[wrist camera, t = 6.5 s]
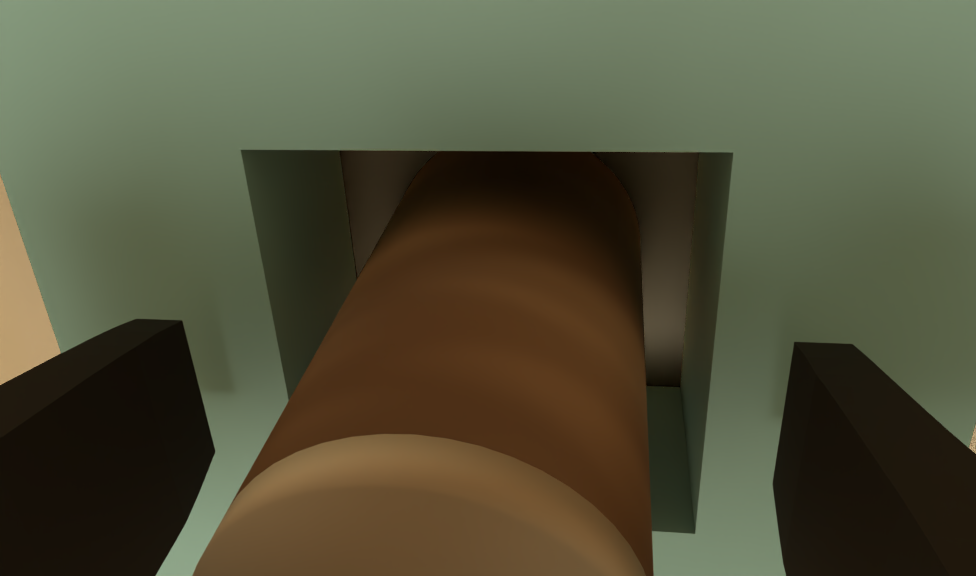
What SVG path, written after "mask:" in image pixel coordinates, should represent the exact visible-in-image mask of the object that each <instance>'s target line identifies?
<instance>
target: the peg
mask: <svg viewBox="0 0 976 576" xmlns="http://www.w3.org/2000/svg"><path fill="white" fill-rule="evenodd" d="M192 576H654V571H653V545H652V520H651V495H650V470H649V445H648V420H647V395H646V370H645V345H644V320H643V295H642V270H641V245H640V232H639V225H638V220H637V216H636V213H635V210H634V206H633V204H632V202H631V200H630V198H629V196H628V194H627V192H626V190H625V189H624V187H623V186H622V184H621V183H620V181H619V179H618V178H617V177H616V176H615V175H614V174H613V172H612V171H611V170H610V169H609V168H608V167H607V166H606V165H605V164H604V163H603V162H602V161H600V160H599V159H598V158H597V157H596V156H595V155H593V154H592V153H590V152H565V151H439V152H438V153H437V154H436V155H435V156H434V157H432V158H431V159H430V160H429V161H428V162H427V163H426V164H425V165H424V166H423V167H422V169H421V170H420V171H419V172H418V173H417V175H416V176H415V178H414V179H413V181H412V183H411V184H410V186H409V188H408V189H407V191H406V193H405V195H404V196H403V198H402V200H401V202H400V204H399V205H398V207H397V209H396V211H395V212H394V214H393V216H392V218H391V220H390V221H389V223H388V225H387V227H386V228H385V230H384V232H383V234H382V236H381V237H380V239H379V241H378V243H377V245H376V246H375V248H374V250H373V252H372V253H371V255H370V257H369V259H368V261H367V262H366V264H365V266H364V268H363V269H362V271H361V273H360V275H359V277H358V278H357V280H356V282H355V284H354V286H353V287H352V289H351V291H350V293H349V294H348V296H347V298H346V300H345V302H344V303H343V305H342V307H341V309H340V310H339V312H338V314H337V316H336V318H335V319H334V321H333V323H332V325H331V326H330V328H329V330H328V332H327V334H326V335H325V337H324V339H323V341H322V343H321V344H320V346H319V348H318V350H317V351H316V353H315V355H314V357H313V359H312V360H311V362H310V364H309V366H308V367H307V369H306V371H305V373H304V375H303V376H302V378H301V380H300V382H299V384H298V385H297V387H296V389H295V391H294V392H293V394H292V396H291V398H290V400H289V401H288V403H287V405H286V407H285V408H284V410H283V412H282V414H281V416H280V417H279V419H278V421H277V423H276V424H275V426H274V428H273V430H272V432H271V433H270V435H269V437H268V439H267V441H266V442H265V444H264V446H263V448H262V449H261V451H260V453H259V455H258V457H257V458H256V460H255V462H254V464H253V465H252V467H251V469H250V471H249V473H248V474H247V476H246V478H245V480H244V482H243V483H242V485H241V487H240V489H239V490H238V492H237V494H236V496H235V498H234V499H233V501H232V503H231V505H230V506H229V508H228V510H227V512H226V514H225V515H224V517H223V519H222V521H221V522H220V524H219V526H218V528H217V530H216V531H215V533H214V535H213V537H212V539H211V540H210V542H209V544H208V546H207V547H206V549H205V551H204V553H203V555H202V556H201V558H200V560H199V562H198V563H197V566H196V568H195V570H194V573H193V575H192Z"/></svg>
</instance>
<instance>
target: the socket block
mask: <svg viewBox="0 0 976 576" xmlns="http://www.w3.org/2000/svg"><path fill="white" fill-rule="evenodd" d="M340 150H390V151H565V152H699V159H698V172H697V184H696V197H695V209H694V222H693V234H692V247H691V259H690V272H689V284H688V297H687V309H686V322H685V334H684V347H683V359H682V372H681V384H680V387H664V386H646V395H647V420H648V445H649V470H650V495H651V520H652V545H653V571H654V576H786V573H785V569H784V565H783V559H782V552H781V545H780V538H779V531H778V524H777V516H776V508H775V500H774V492H773V484H772V483H773V477H774V470H775V464H776V457H777V451H778V444H779V438H780V431H781V425H782V418H783V412H784V405H785V399H786V392H787V386H788V379H789V373H790V366H791V360H792V353H793V347H794V342H815V343H844V344H853V345H854V346H855V347H857V348H858V349H859V350H860V351H861V352H863V353H864V354H865V355H866V356H867V357H868V358H869V359H870V360H872V361H873V362H874V363H875V364H876V365H877V366H878V367H879V368H880V369H881V370H882V371H884V372H885V373H886V374H887V375H888V376H889V377H890V378H891V379H892V380H893V381H894V382H896V383H897V384H898V385H899V386H900V387H901V388H902V389H903V390H904V391H905V392H906V393H907V394H909V395H910V396H911V397H912V398H913V399H914V400H915V401H916V402H917V403H918V404H920V405H921V406H922V407H923V408H924V409H925V410H926V411H927V412H928V413H929V414H931V415H932V416H933V417H934V418H935V419H936V420H937V421H938V422H940V423H941V424H942V425H943V426H944V427H945V428H946V429H947V430H949V431H950V432H951V433H952V434H953V435H954V436H955V437H957V438H958V439H959V440H960V441H961V442H962V443H963V444H965V445H966V446H967V447H968V448H969V445H970V442H971V438H972V435H973V431H974V428H975V424H976V0H0V174H1V177H2V180H3V183H4V186H5V189H6V192H7V195H8V198H9V201H10V204H11V207H12V210H13V213H14V216H15V219H16V221H17V224H18V227H19V230H20V233H21V236H22V239H23V242H24V245H25V248H26V251H27V254H28V257H29V260H30V263H31V266H32V269H33V272H34V275H35V277H36V280H37V283H38V286H39V289H40V292H41V295H42V298H43V301H44V304H45V307H46V310H47V313H48V316H49V319H50V322H51V325H52V328H53V330H54V333H55V336H56V339H57V342H58V345H59V348H60V351H61V353H63V352H65V351H67V350H69V349H71V348H73V347H75V346H77V345H79V344H81V343H83V342H85V341H87V340H89V339H91V338H93V337H95V336H97V335H99V334H101V333H103V332H105V331H108V330H110V329H112V328H114V327H117V326H119V325H121V324H124V323H126V322H129V321H132V320H134V319H160V320H182V321H183V325H184V329H185V333H186V337H187V341H188V345H189V349H190V353H191V357H192V361H193V365H194V368H195V372H196V376H197V380H198V384H199V388H200V392H201V396H202V400H203V404H204V408H205V412H206V416H207V420H208V424H209V428H210V432H211V436H212V440H213V444H214V448H215V454H214V457H213V459H212V462H211V464H210V467H209V470H208V472H207V475H206V477H205V480H204V482H203V485H202V487H201V490H200V492H199V495H198V497H197V499H196V501H195V504H194V506H193V508H192V511H191V513H190V515H189V517H188V520H187V522H186V524H185V526H184V527H183V529H182V531H181V533H180V535H179V536H178V538H177V540H176V542H175V543H174V545H173V547H172V548H171V550H170V552H169V554H168V555H167V557H166V559H165V560H164V562H163V564H162V566H161V567H160V569H159V571H158V572H157V574H156V576H192V575H193V573H194V570H195V568H196V566H197V563H198V562H199V560H200V558H201V556H202V555H203V553H204V551H205V549H206V547H207V546H208V544H209V542H210V540H211V539H212V537H213V535H214V533H215V531H216V530H217V528H218V526H219V524H220V522H221V521H222V519H223V517H224V515H225V514H226V512H227V510H228V508H229V506H230V505H231V503H232V501H233V499H234V498H235V496H236V494H237V492H238V490H239V489H240V487H241V485H242V483H243V482H244V480H245V478H246V476H247V474H248V473H249V471H250V469H251V467H252V465H253V464H254V462H255V460H256V458H257V457H258V455H259V453H260V451H261V449H262V448H263V446H264V444H265V442H266V441H267V439H268V437H269V435H270V433H271V432H272V430H273V428H274V426H275V424H276V423H277V421H278V419H279V417H280V416H281V414H282V412H283V410H284V408H285V407H286V405H287V403H288V401H289V400H290V398H291V396H292V394H293V392H294V391H295V389H296V387H297V385H298V384H299V382H300V380H301V378H302V376H303V375H304V373H305V371H306V369H307V367H308V366H309V364H310V362H311V360H312V359H313V357H314V355H315V353H316V351H317V350H318V348H319V346H320V344H321V343H322V341H323V339H324V337H325V335H326V334H327V332H328V330H329V328H330V326H331V325H332V323H333V321H334V319H335V318H336V316H337V314H338V312H339V310H340V309H341V307H342V305H343V303H344V302H345V300H346V298H347V296H348V294H349V293H350V291H351V289H352V287H353V286H354V284H355V282H356V280H357V278H356V270H355V263H354V255H353V248H352V240H351V233H350V225H349V218H348V210H347V203H346V195H345V188H344V180H343V173H342V165H341V158H340Z"/></svg>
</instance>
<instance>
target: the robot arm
mask: <svg viewBox="0 0 976 576" xmlns="http://www.w3.org/2000/svg"><path fill="white" fill-rule="evenodd" d="M214 454H215V448H214V444H213V440H212V436H211V432H210V428H209V424H208V420H207V416H206V412H205V408H204V404H203V400H202V396H201V392H200V388H199V384H198V380H197V376H196V372H195V368H194V365H193V361H192V357H191V353H190V349H189V345H188V341H187V337H186V333H185V329H184V325H183V321H182V320H160V319H134V320H132V321H129V322H126V323H124V324H121V325H119V326H117V327H114V328H112V329H110V330H108V331H105V332H103V333H101V334H99V335H97V336H95V337H93V338H91V339H89V340H87V341H85V342H83V343H81V344H79V345H77V346H75V347H73V348H71V349H69V350H67V351H65V352H63V353H61V354H59V355H57V356H55V357H54V358H52V359H50V360H48V361H46V362H44V363H42V364H40V365H38V366H36V367H34V368H32V369H31V370H29V371H27V372H25V373H23V374H21V375H19V376H17V377H15V378H13V379H11V380H9V381H8V382H6V383H4V384H2V385H0V576H156V574H157V572H158V571H159V569H160V567H161V566H162V564H163V562H164V560H165V559H166V557H167V555H168V554H169V552H170V550H171V548H172V547H173V545H174V543H175V542H176V540H177V538H178V536H179V535H180V533H181V531H182V529H183V527H184V526H185V524H186V522H187V520H188V517H189V515H190V513H191V511H192V508H193V506H194V504H195V501H196V499H197V497H198V495H199V492H200V490H201V487H202V485H203V482H204V480H205V477H206V475H207V472H208V470H209V467H210V464H211V462H212V459H213V457H214ZM772 484H773V492H774V500H775V508H776V516H777V524H778V531H779V538H780V545H781V552H782V559H783V565H784V569H785V573H786V576H976V454H975V453H974V452H973V451H972V450H970V449H969V448H968V447H967V446H966V445H965V444H963V443H962V442H961V441H960V440H959V439H958V438H957V437H955V436H954V435H953V434H952V433H951V432H950V431H949V430H947V429H946V428H945V427H944V426H943V425H942V424H941V423H940V422H938V421H937V420H936V419H935V418H934V417H933V416H932V415H931V414H929V413H928V412H927V411H926V410H925V409H924V408H923V407H922V406H921V405H920V404H918V403H917V402H916V401H915V400H914V399H913V398H912V397H911V396H910V395H909V394H907V393H906V392H905V391H904V390H903V389H902V388H901V387H900V386H899V385H898V384H897V383H896V382H894V381H893V380H892V379H891V378H890V377H889V376H888V375H887V374H886V373H885V372H884V371H882V370H881V369H880V368H879V367H878V366H877V365H876V364H875V363H874V362H873V361H872V360H870V359H869V358H868V357H867V356H866V355H865V354H864V353H863V352H861V351H860V350H859V349H858V348H857V347H855V346H854V345H853V344H844V343H815V342H794V347H793V353H792V360H791V366H790V373H789V379H788V386H787V392H786V399H785V405H784V412H783V418H782V425H781V431H780V438H779V444H778V451H777V457H776V464H775V470H774V477H773V483H772Z"/></svg>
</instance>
